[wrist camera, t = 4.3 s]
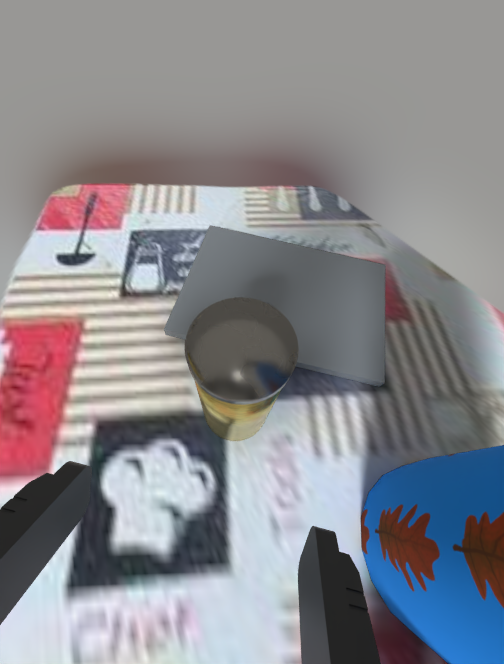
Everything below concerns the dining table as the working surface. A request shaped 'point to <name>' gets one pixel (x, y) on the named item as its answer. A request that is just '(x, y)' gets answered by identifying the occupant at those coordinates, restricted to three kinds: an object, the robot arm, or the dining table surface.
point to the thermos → (442, 551)
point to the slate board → (295, 298)
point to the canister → (240, 363)
